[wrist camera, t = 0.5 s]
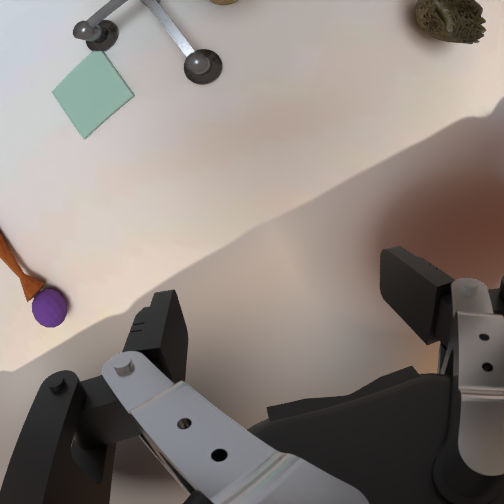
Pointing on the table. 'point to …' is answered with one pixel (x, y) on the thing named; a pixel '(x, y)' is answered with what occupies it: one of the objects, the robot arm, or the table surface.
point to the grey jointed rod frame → (197, 62)
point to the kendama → (37, 293)
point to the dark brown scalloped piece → (451, 20)
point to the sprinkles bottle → (223, 1)
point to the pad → (92, 93)
